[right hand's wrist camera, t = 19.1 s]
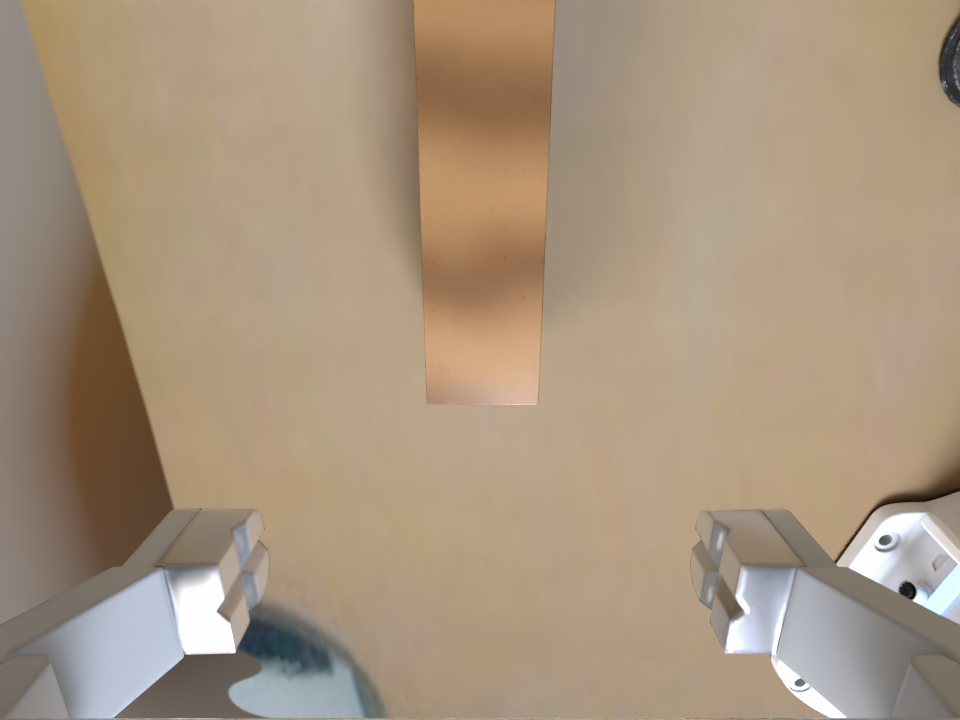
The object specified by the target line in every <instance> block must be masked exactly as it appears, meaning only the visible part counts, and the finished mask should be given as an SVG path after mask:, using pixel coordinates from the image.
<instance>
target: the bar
mask: <svg viewBox="0 0 960 720" xmlns="http://www.w3.org/2000/svg"><path fill="white" fill-rule="evenodd" d="M555 2H556V0H413V9H414V38H415V68H416V97H417V127H418V156H419V186H420V215H421V245H422V274H423V304H424V333H425V363H426V392H427V404H430V405H538V403H539V379H540V356H541V332H542V309H543V285H544V262H545V238H546V214H547V191H548V167H549V144H550V120H551V97H552V73H553V49H554V26H555Z"/></svg>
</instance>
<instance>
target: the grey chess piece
mask: <svg viewBox="0 0 960 720" xmlns="http://www.w3.org/2000/svg"><path fill="white" fill-rule="evenodd" d="M940 79H941V83H942V87H943V90H944V92H945V93H946V95H947V97H948V98H949V100H950V101H951V102H953V103H954V104H955V105H957V106H958V107H959V108H960V21H959V22H958V24H957V25H956V26H955V28H954V29H953V30H952V32H951V34H950V36H949V38H948V40H947V42H946V44H945V46H944V49H943V53H942V57H941V61H940Z"/></svg>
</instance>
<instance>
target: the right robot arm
mask: <svg viewBox="0 0 960 720" xmlns="http://www.w3.org/2000/svg"><path fill="white" fill-rule="evenodd" d="M264 529H265V528H264V523H263V518H262V514H261V513H260V512H259V511H258V510H255V509H209V508H205V509H201V508H178V509H175V510H172V511H170V512H169V513H168V514H167V516H166V517H165V518H164V519H163V520H162V521H161V522H160V524H159V525H158V526H157V527H156V528H155V529H154V530H153V532H152V533H151V534H150V535H149V536H148V537H147V538H146V540H145V541H144V542H143V543H142V544H141V545H140V546H139V548H138V549H137V550H136V551H135V552H134V553H133V554H132V556H131V557H130V558H129V559H128V560H127V561H126V562H125V564H124V565H123V566H122V567H112V568H110V569H108V570H106V571H104V572H102V573H100V574H98V575H96V576H94V577H92V578H90V579H88V580H86V581H84V582H82V583H80V584H79V585H77V586H75V587H73V588H71V589H69V590H67V591H65V592H63V593H61V594H59V595H57V596H55V597H53V598H51V599H49V600H47V601H45V602H44V603H42V604H40V605H38V606H36V607H34V608H32V609H30V610H28V611H26V612H24V613H22V614H20V615H18V616H16V617H14V618H12V619H10V620H9V621H7V622H5V623H3V624H1V625H0V720H960V491H958V492H955V493H953V494H950V495H947V496H944V497H941V498H938V499H935V500H931V501H927V502H903V503H893V504H888V505H885V506H882V507H880V508H879V509H877V510H876V511H875V512H874V513H873V514H872V515H871V516H870V517H869V519H868V520H867V522H866V523H865V524H864V526H863V527H862V529H861V530H860V531H859V533H858V534H857V536H856V537H855V538H854V540H853V541H852V542H851V544H850V545H849V547H848V548H847V549H846V551H845V552H844V554H843V555H842V556H841V558H840V559H839V561H838V562H837V563H836V564H835V562H834V561H833V560H832V559H831V558H830V557H829V556H828V554H827V553H826V552H825V551H824V550H823V549H822V548H821V546H820V545H819V544H818V543H817V542H816V541H815V540H814V538H813V537H812V536H811V535H810V534H809V533H808V532H807V530H806V529H805V528H804V527H803V526H802V525H801V524H800V522H799V521H798V520H797V519H796V518H795V517H794V516H793V514H792V513H791V512H790V511H788V510H786V509H784V508H766V509H755V510H701V511H700V513H699V515H698V517H697V522H696V528H695V529H696V531H697V533H698V534H699V536H700V538H701V540H700V541H699V542H698V543H697V544H696V546H695V547H694V548H693V549H692V554H691V562H690V567H691V578H692V582H693V586H694V589H695V592H696V594H697V596H698V598H699V601H700V602H701V603H702V604H704V605H705V606H706V607H708V608H709V609H711V610H712V612H711V618H710V623H711V625H712V627H713V629H714V631H715V633H716V635H717V637H718V639H719V641H720V643H721V645H722V647H723V649H724V651H725V653H743V654H772V655H771V662H772V664H773V667H774V669H775V671H776V672H777V674H778V675H779V677H780V678H781V679H782V681H783V682H784V684H785V685H786V686H787V688H788V689H789V690H790V691H791V692H792V693H793V694H794V695H796V696H797V697H798V698H799V699H800V700H802V701H803V702H804V703H806V704H807V705H809V706H810V707H812V708H814V709H815V710H817V711H819V712H821V713H823V714H824V715H826V716H828V717H831V718H113V717H114V716H116V715H117V714H118V713H119V712H120V711H121V710H123V709H124V708H125V707H126V706H127V705H128V704H129V703H131V702H132V701H133V700H134V699H136V698H137V697H138V696H139V695H140V694H141V693H143V692H144V691H145V690H146V689H147V688H148V687H150V686H151V685H152V684H153V683H154V682H155V681H156V680H158V679H159V678H160V677H161V676H162V675H164V674H165V673H166V672H167V671H168V670H169V669H171V668H172V667H173V666H174V665H175V664H176V663H178V662H179V661H180V660H181V659H182V658H183V657H184V655H183V654H215V653H235V651H236V649H237V647H238V645H239V643H240V641H241V639H242V637H243V635H244V633H245V631H246V629H247V627H248V625H249V623H250V618H249V612H248V610H249V609H251V608H252V607H254V606H255V605H256V604H258V603H259V602H260V601H261V598H262V596H263V594H264V592H265V590H266V586H267V581H268V577H269V561H270V560H269V553H268V549H267V548H266V547H265V546H264V544H263V543H262V542H261V541H260V540H259V538H260V536H261V534H262V533H263V531H264Z"/></svg>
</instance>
